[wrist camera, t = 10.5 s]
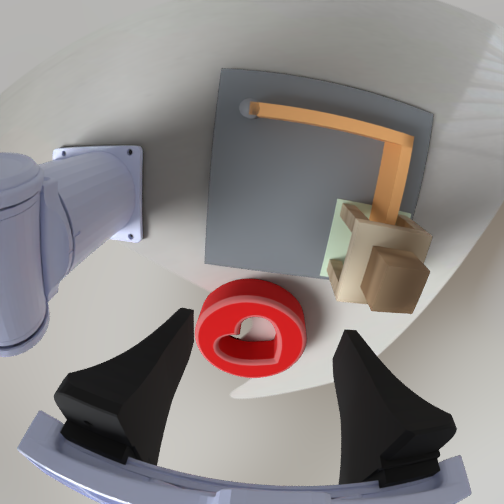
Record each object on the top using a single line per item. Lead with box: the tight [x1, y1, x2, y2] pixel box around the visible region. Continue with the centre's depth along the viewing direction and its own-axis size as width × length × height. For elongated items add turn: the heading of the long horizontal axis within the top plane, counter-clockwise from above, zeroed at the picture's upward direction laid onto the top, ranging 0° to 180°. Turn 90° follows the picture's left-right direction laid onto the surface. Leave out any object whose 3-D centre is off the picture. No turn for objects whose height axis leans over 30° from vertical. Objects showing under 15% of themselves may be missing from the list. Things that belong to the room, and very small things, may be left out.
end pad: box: [320, 198, 411, 277], centre depth 21 cm, size 6×6×1 cm
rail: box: [239, 98, 414, 225], centre depth 18 cm, size 11×11×3 cm
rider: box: [327, 203, 433, 314], centre depth 18 cm, size 6×6×7 cm
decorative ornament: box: [195, 279, 307, 378], centre depth 24 cm, size 10×10×3 cm
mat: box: [205, 68, 433, 280], centre depth 20 cm, size 16×15×1 cm
